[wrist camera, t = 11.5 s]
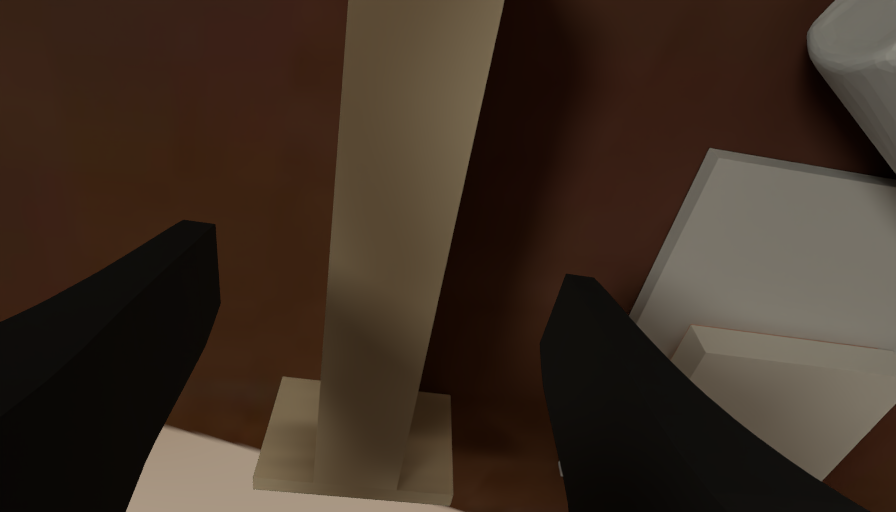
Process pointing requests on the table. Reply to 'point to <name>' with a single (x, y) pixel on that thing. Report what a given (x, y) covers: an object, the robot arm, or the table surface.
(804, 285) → the mat
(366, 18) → the tan wooden slat
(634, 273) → the table surface
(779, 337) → the tile
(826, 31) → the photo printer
